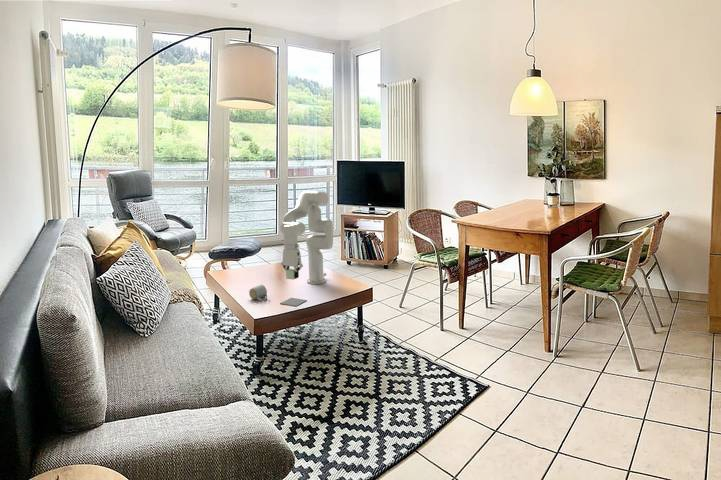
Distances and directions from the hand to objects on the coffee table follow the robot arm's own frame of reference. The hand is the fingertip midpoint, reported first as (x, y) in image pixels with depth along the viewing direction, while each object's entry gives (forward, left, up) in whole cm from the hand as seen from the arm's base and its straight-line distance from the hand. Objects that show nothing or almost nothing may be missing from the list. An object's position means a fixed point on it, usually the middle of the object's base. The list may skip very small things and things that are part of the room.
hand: (292, 277), depth 270 cm
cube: (0, 0, -1) cm, 1 cm away
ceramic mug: (+3, -22, -15) cm, 27 cm away
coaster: (0, 0, -15) cm, 15 cm away
